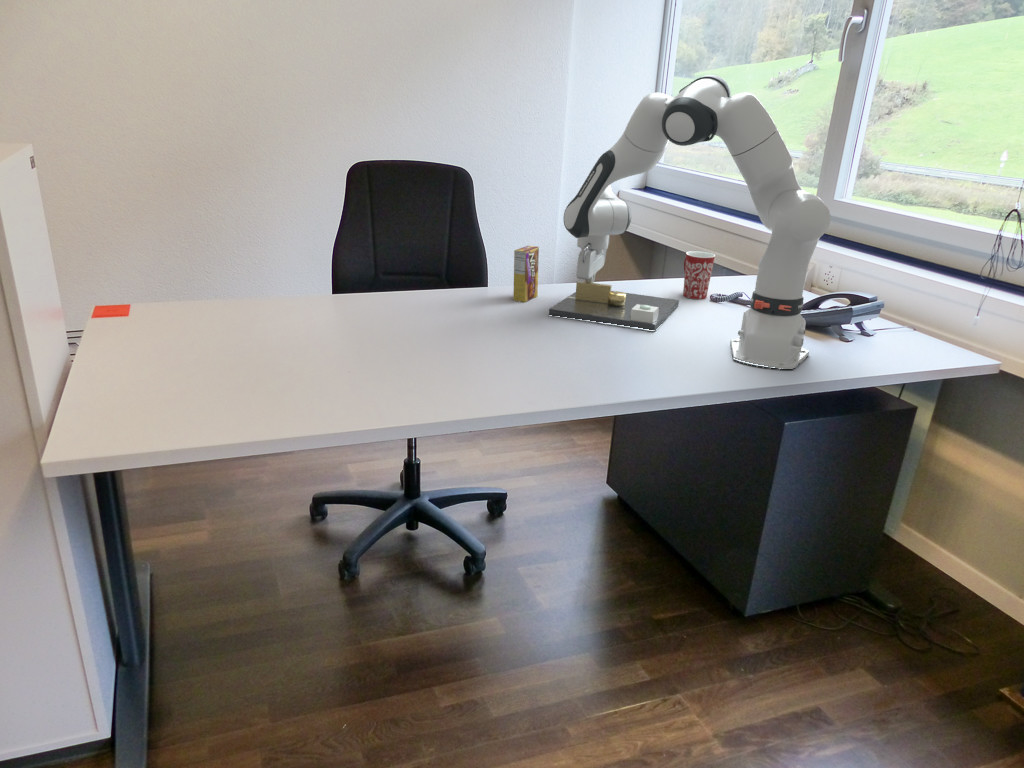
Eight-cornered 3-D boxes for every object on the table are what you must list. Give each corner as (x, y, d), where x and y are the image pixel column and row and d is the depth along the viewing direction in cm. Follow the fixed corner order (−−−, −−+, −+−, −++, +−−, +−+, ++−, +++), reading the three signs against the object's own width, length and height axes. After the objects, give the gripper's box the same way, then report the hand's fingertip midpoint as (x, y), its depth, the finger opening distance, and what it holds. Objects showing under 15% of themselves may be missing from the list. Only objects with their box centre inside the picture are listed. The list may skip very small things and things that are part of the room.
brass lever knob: (626, 302, 215) (628, 284, 213) (623, 306, 210) (624, 288, 209) (578, 296, 219) (579, 279, 217) (573, 300, 215) (575, 282, 213)
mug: (714, 299, 231) (720, 256, 226) (688, 300, 229) (693, 257, 224) (696, 289, 243) (702, 248, 238) (671, 290, 241) (675, 249, 236)
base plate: (654, 332, 196) (656, 311, 194) (548, 315, 207) (549, 296, 205) (678, 306, 222) (680, 288, 220) (583, 293, 233) (584, 275, 231)
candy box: (525, 294, 228) (527, 245, 223) (537, 296, 226) (540, 246, 221) (511, 300, 221) (513, 249, 215) (524, 302, 219) (527, 251, 213)
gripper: (595, 248, 202) (591, 297, 207) (611, 236, 220) (607, 282, 225) (572, 245, 204) (569, 294, 209) (590, 234, 222) (586, 279, 227)
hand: (589, 288), depth 217 cm, fingers closed
